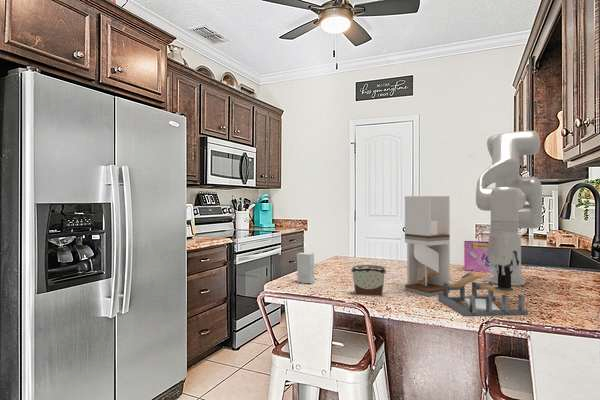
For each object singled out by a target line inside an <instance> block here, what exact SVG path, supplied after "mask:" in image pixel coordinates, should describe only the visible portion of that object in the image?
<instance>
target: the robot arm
mask: <svg viewBox="0 0 600 400" xmlns="http://www.w3.org/2000/svg"><path fill="white" fill-rule="evenodd" d="M486 146H487V147H486V148H487V151H488V153H489V155H490V157H491V165H490V166H489V167H488V168H486V169H485V170H484V171H483V172H482V173H481V174H480V175H479V178H478V179H477V182H476V189H475V190H476V191H475V205H476V207H477V208H478V209H479V210H481V211H487V212H490V231H489V236H488V241H487V242H488V261H489V262H490V263H492V265H493V266H494V270H493V271H492V272H491V274H493V277H490V278H489V282H493V284H497V287H499V288H502V289H503V288H512V287H519V286H525V285H526V280H524V279H522V241H521V237H520V234H519V229H527V230H528V229H531V230H532V229H533V230H534V229H539V228H540V227H541V226H542V222H543V191H542V189H543V188H542V183H541V181H540V179H539V178H538V177H536V176H520V167H521V164H520V163H521V162H520V159H521V158H520V156H529V155H530V156H531V155H533V156H534V155H537V154H538V153H539V151H540V149H541V139H540V135H539V133H538V132H537V131H535V130H524V131H523V130H522V131H521V130H520V131H508V132H502V133H499V134H493V135H491V136H489V137H488V138H487V140H486ZM494 183H495V187H489V186H490V185H493V184H494ZM526 202H527V203H528V204H526Z"/></svg>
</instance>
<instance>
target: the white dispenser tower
mask: <svg viewBox="0 0 600 400" xmlns="http://www.w3.org/2000/svg"><path fill="white" fill-rule="evenodd" d="M450 205H451V204H450V196H449V195H442V196H441V195H440V196H437V195H436V196H433V195H432V196H431V195H422V196H421V195H417V196H416V195H413V196H412V195H411V196H408V195H407V196H406V195H405V196H404V243H405V244H407V245H406V247H407V248H406V251H407V252H406V253H407V254H406V255H407V256H406V258H407V261H406V263H407V265H406V267H407V268H406V269H407V270H406V272H407V273H406V275H407V277H406V278H407V279H406V280H407V282H406V284H405V285H404V290H405V291H407V292H411V293H414V294H418V295H420V296H421V295H422V296H426V297H428V298H431V297H435V296H438V293H443V283H447V284H451V283H450V282H451V279H450V278H451V277H450V275H451V273H450V272H451V270H450V269H451V267H450V266H451V265H450V264H451V261H450V260H451V259H450V257H451V256H450V255H451V252H450V251H451V249H450V247H451V246H450V245H451V244H450V243H451V240H450V232H451V231H450V230H451V229H450V228H451V227H450V221H451V220H450V218H451V217H450V210H451V209H450ZM450 293H451V290H448V294H450Z"/></svg>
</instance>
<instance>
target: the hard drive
mask: <svg viewBox="0 0 600 400" xmlns="http://www.w3.org/2000/svg"><path fill="white" fill-rule="evenodd" d="M463 302H465V304H466V306H467V307H468V308H469V309H470V298H465V299H464V301H463ZM492 310H501V309H500V308H499V307H498V306H497V305H496V304H495V303H494V301H492ZM475 311H486V299H475Z"/></svg>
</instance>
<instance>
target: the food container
mask: <svg viewBox="0 0 600 400" xmlns="http://www.w3.org/2000/svg"><path fill="white" fill-rule="evenodd" d="M350 273H352V276H353V277H352V278H353V285H354V295H355V296H364V297H365V296H366V297H368V296H369V297H383V294H384V293H383V292H384V285H385V284H384V282H385V274H387V271H386V268H385V267H384V266H382V265H376V264H375V265H374V264H358V265H357V264H356V265H353V266H352V267H351V271H350Z"/></svg>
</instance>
